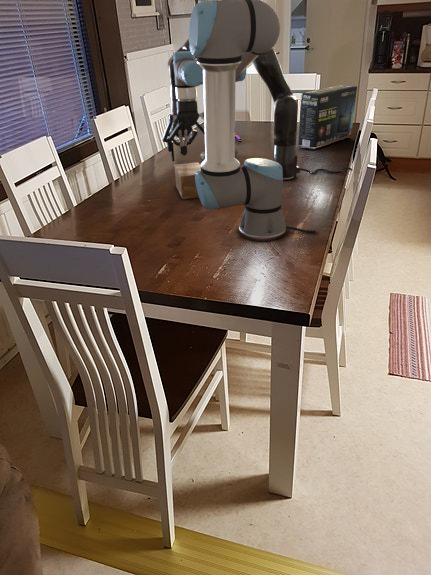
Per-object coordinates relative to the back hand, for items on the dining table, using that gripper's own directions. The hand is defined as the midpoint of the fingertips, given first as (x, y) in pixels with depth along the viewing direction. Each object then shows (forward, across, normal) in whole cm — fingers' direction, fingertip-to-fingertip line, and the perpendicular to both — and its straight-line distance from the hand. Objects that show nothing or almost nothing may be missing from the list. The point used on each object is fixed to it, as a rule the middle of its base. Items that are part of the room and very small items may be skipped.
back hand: (183, 155), depth 192 cm
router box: (+11, -82, -39) cm, 92 cm away
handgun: (+11, -38, -67) cm, 78 cm away
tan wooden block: (+11, 0, +13) cm, 17 cm away
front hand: (-3, 0, +17) cm, 17 cm away
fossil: (+11, -21, -29) cm, 37 cm away
